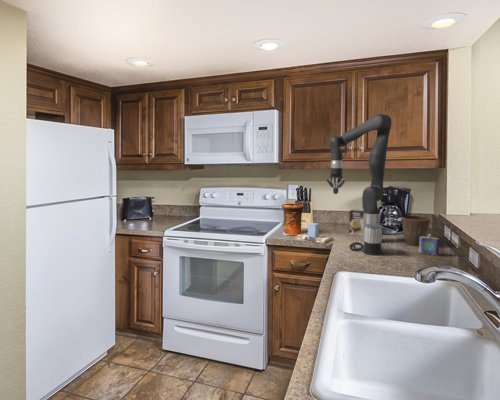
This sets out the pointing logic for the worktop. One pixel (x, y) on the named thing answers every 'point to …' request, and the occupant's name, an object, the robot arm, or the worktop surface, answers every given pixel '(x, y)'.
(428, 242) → the flask
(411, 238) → the plant pot
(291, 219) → the vessel
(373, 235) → the milk frother
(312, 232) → the slate block
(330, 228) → the worktop surface
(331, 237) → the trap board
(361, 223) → the coffee box
